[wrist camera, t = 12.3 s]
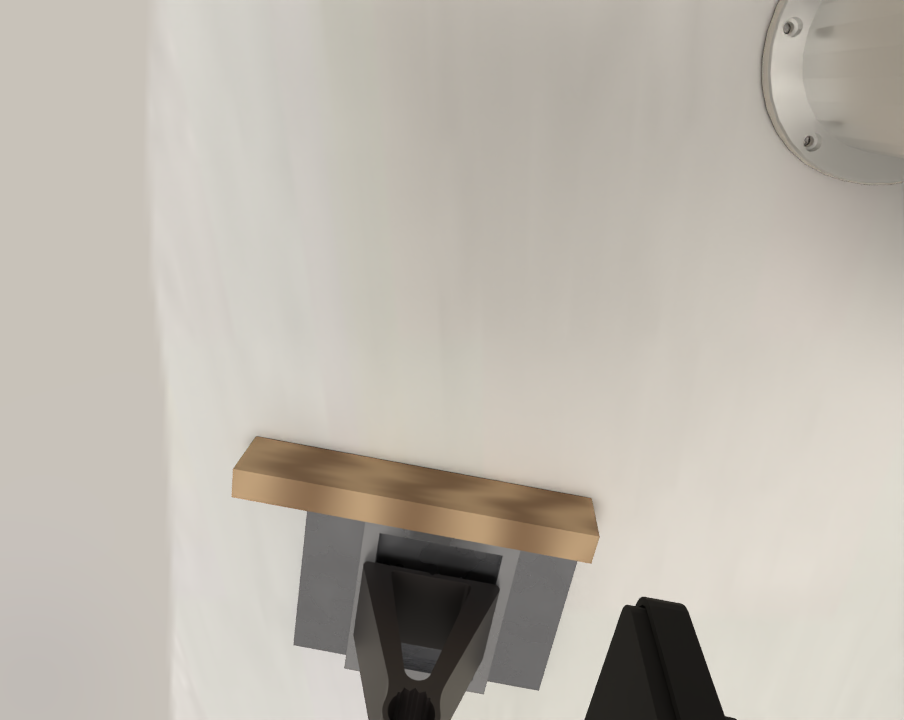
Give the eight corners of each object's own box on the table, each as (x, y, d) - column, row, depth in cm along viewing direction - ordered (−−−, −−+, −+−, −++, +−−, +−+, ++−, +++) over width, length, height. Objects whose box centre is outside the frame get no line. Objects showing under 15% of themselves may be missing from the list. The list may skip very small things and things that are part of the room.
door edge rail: (591, 498, 44) (599, 536, 40) (583, 523, 44) (591, 563, 41) (256, 436, 44) (233, 468, 40) (254, 462, 44) (231, 496, 41)
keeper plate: (580, 536, 45) (583, 557, 43) (538, 679, 50) (539, 704, 48) (312, 486, 45) (303, 505, 43) (297, 634, 50) (288, 658, 48)
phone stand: (500, 585, 44) (499, 754, 33) (483, 654, 46) (476, 833, 35) (364, 559, 44) (317, 719, 33) (353, 629, 46) (306, 801, 35)
